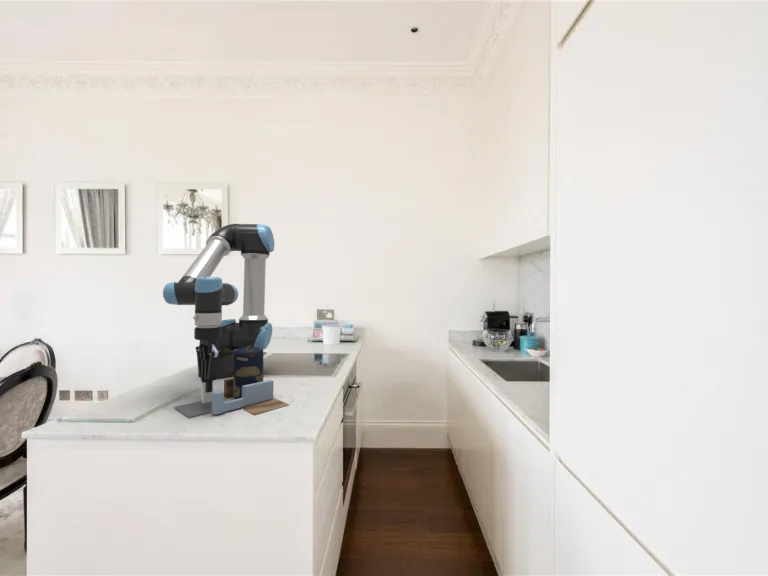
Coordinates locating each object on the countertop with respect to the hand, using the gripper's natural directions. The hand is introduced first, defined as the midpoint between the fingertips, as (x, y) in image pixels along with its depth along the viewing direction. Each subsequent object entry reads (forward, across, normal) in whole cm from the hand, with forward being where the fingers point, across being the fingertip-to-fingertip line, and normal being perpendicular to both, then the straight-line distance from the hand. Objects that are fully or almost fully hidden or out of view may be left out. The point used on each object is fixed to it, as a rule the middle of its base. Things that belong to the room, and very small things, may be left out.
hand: (207, 401), depth 106 cm
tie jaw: (+1, +8, +8) cm, 11 cm away
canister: (+2, +1, +13) cm, 13 cm away
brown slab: (+2, +5, +13) cm, 14 cm away
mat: (+2, -1, -1) cm, 2 cm away
